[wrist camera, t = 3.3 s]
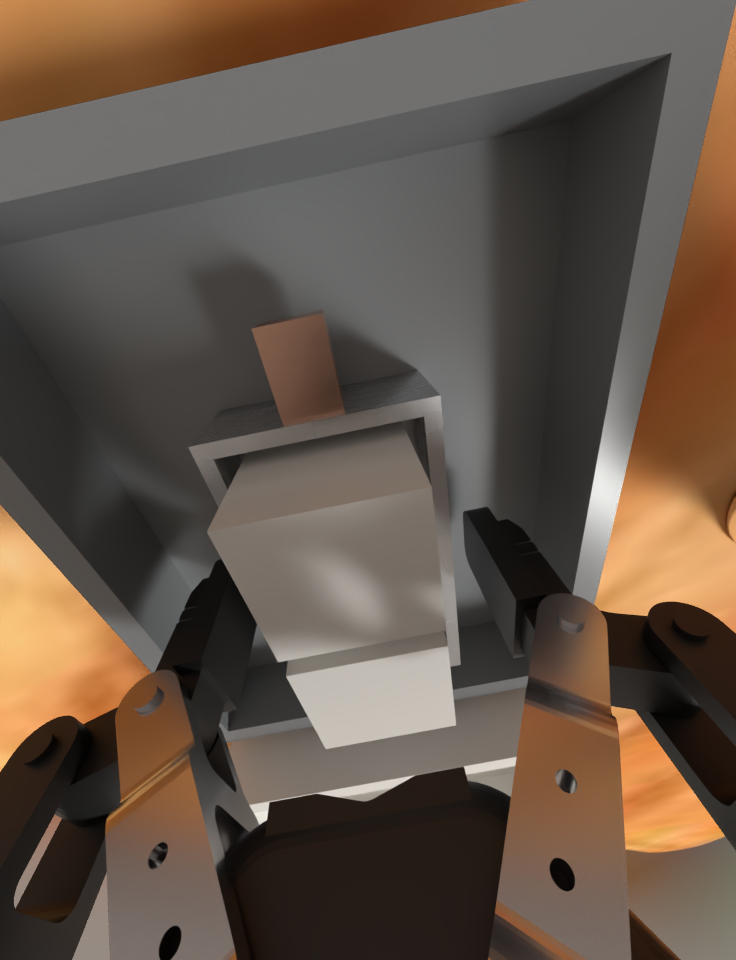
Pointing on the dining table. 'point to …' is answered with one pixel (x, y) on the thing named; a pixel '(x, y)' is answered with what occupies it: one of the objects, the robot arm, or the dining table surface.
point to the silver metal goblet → (732, 520)
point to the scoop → (330, 423)
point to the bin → (383, 756)
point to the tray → (351, 287)
